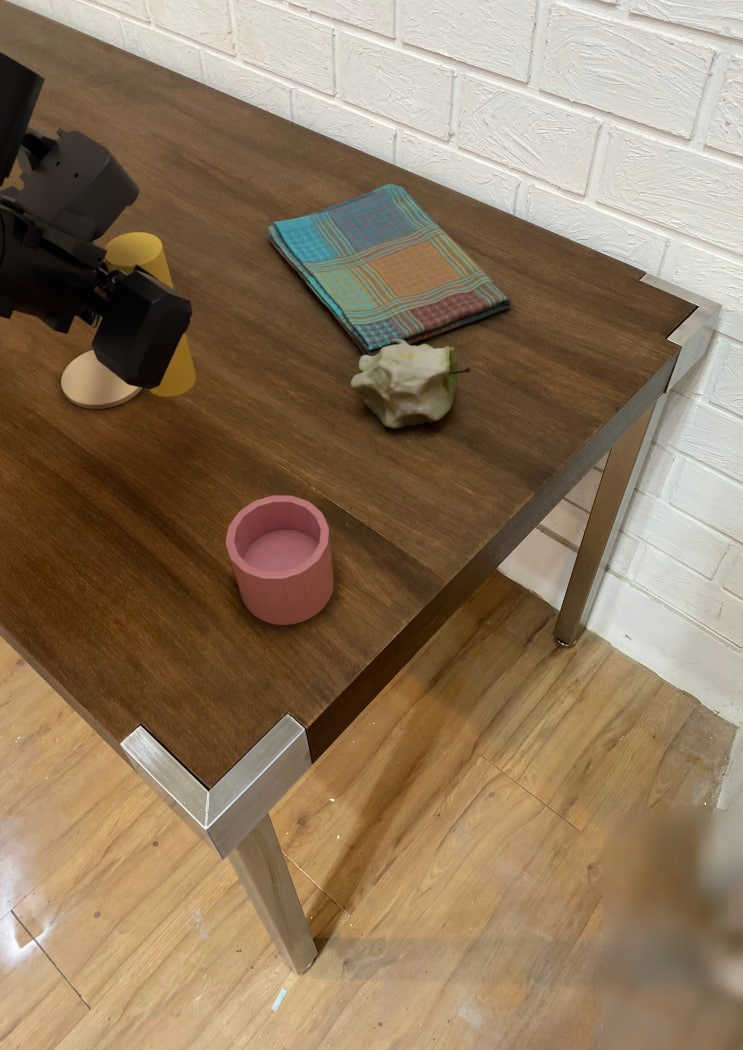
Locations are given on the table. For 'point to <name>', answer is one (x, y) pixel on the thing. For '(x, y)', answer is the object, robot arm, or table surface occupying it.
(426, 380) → the fruit
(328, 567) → the pot
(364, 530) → the table surface
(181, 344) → the yellow cylinder
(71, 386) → the disc
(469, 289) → the dish towel
